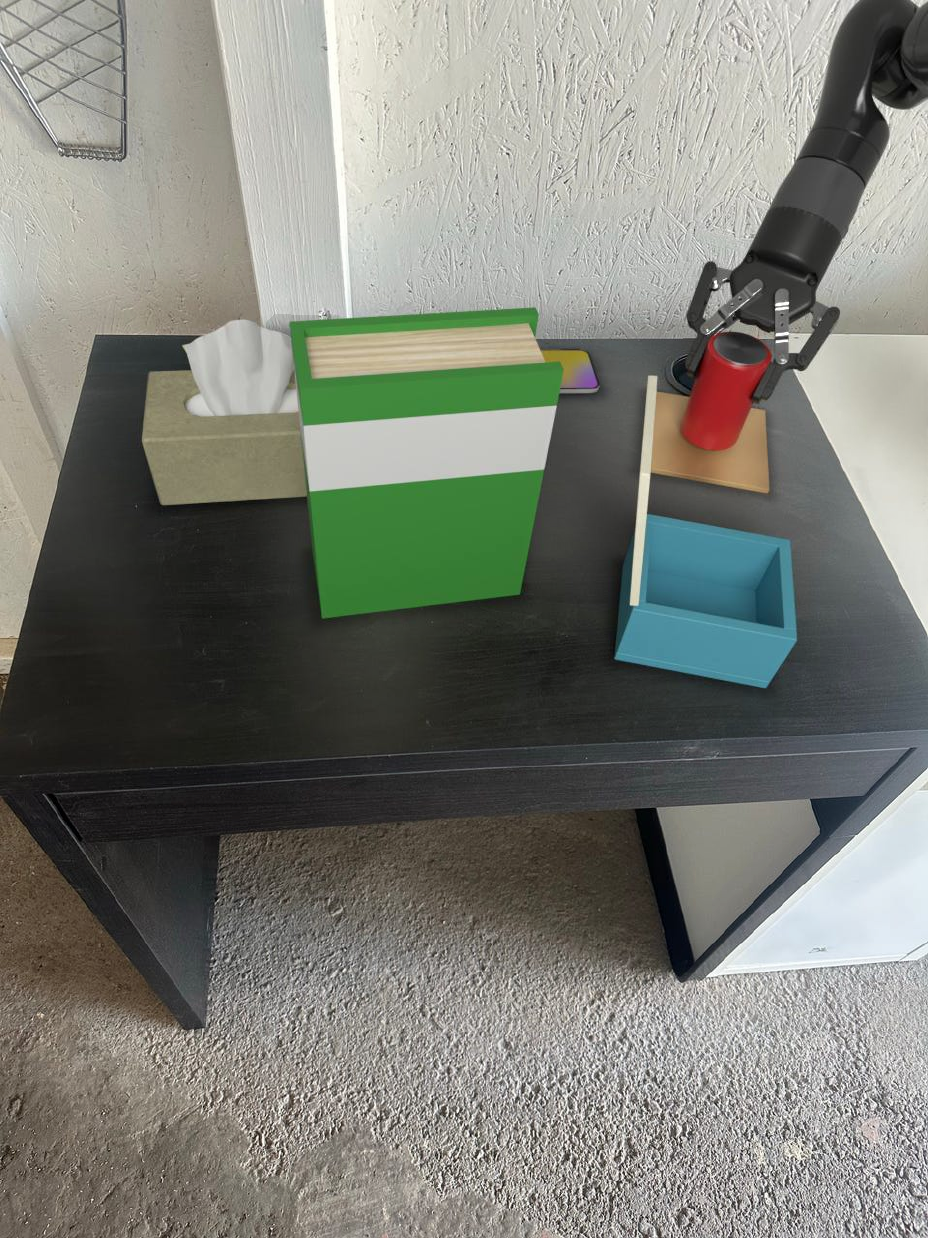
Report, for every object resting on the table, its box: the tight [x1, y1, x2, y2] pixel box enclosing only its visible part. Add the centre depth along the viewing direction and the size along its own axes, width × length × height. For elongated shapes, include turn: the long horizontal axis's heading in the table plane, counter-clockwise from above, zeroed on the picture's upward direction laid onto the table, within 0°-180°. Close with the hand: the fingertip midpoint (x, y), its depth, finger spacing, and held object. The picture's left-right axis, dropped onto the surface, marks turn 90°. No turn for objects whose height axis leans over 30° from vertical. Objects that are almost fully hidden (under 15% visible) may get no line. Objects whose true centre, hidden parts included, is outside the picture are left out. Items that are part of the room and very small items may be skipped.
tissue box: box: [141, 319, 307, 506], centre depth 78 cm, size 19×10×16 cm, turn 99°
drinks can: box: [680, 330, 773, 450], centre depth 86 cm, size 6×6×10 cm
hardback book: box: [289, 307, 564, 620], centre depth 68 cm, size 18×7×24 cm, turn 102°
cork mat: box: [651, 391, 770, 494], centre depth 91 cm, size 13×13×1 cm
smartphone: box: [540, 348, 601, 394], centre depth 96 cm, size 7×1×15 cm
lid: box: [630, 375, 658, 606], centre depth 65 cm, size 14×11×1 cm
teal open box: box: [613, 513, 798, 689], centre depth 73 cm, size 13×11×7 cm
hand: (722, 387), depth 84 cm, fingers closed on drinks can, 6 cm apart
